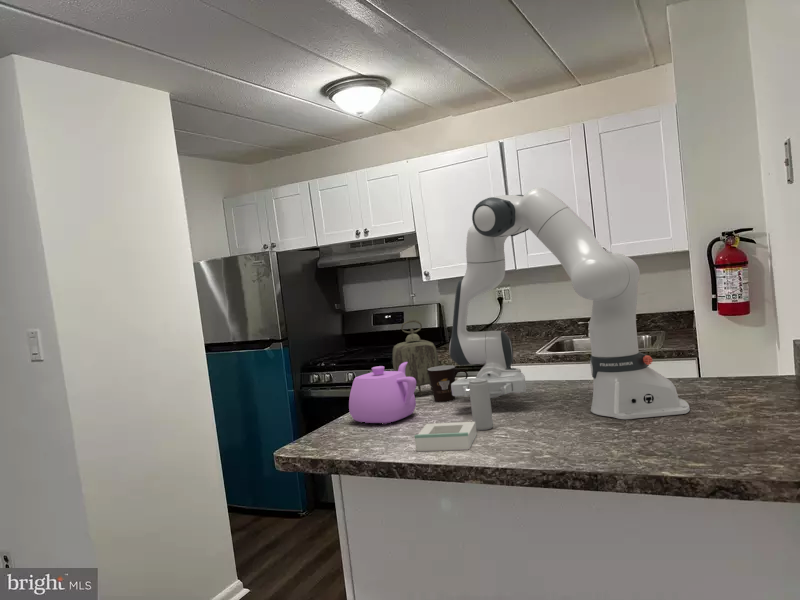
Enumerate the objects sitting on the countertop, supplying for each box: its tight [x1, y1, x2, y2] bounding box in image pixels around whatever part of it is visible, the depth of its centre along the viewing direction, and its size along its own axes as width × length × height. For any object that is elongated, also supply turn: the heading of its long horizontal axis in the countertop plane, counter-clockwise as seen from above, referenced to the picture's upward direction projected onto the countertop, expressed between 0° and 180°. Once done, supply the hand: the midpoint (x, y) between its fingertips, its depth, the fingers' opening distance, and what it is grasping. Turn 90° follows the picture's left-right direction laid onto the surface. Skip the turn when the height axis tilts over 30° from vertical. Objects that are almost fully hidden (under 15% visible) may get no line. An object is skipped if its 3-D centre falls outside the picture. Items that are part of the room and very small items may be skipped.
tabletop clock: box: [392, 319, 440, 397], centre depth 193 cm, size 14×9×25 cm, turn 98°
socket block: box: [414, 421, 478, 452], centre depth 134 cm, size 12×12×4 cm
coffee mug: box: [428, 365, 469, 403], centre depth 181 cm, size 12×9×10 cm
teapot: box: [348, 362, 417, 425], centre depth 166 cm, size 23×21×15 cm
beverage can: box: [469, 378, 494, 431], centre depth 143 cm, size 5×5×12 cm
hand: (485, 391), depth 152 cm, fingers open, 8 cm apart
